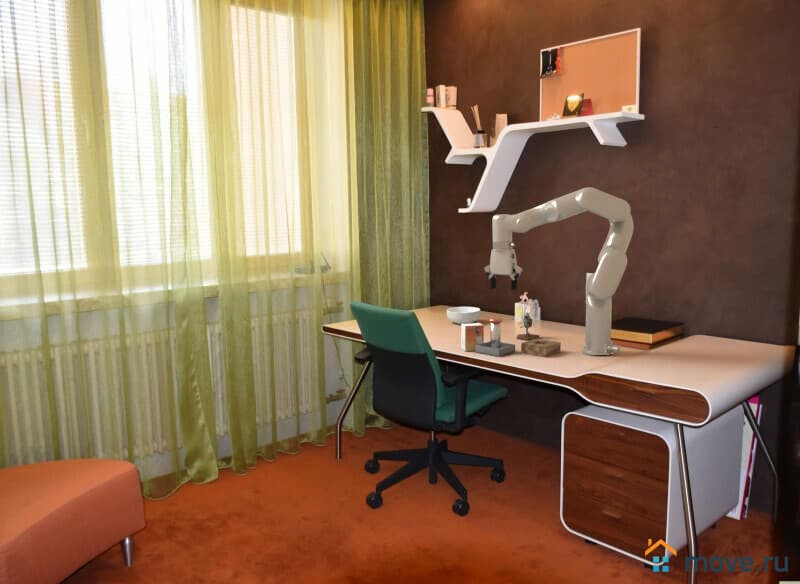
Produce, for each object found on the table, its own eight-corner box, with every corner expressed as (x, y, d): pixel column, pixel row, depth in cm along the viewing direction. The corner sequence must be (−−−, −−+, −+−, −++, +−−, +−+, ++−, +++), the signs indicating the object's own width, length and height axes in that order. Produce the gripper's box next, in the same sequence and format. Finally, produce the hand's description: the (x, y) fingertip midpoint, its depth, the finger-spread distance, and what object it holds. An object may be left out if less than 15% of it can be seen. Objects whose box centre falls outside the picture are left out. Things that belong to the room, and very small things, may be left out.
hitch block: (560, 352, 258) (560, 342, 257) (545, 357, 250) (545, 346, 249) (536, 348, 265) (536, 338, 265) (521, 352, 257) (521, 343, 257)
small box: (464, 351, 261) (464, 326, 260) (460, 348, 267) (460, 323, 265) (484, 350, 263) (484, 324, 262) (479, 347, 268) (479, 322, 267)
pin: (504, 350, 259) (504, 318, 258) (496, 352, 256) (497, 320, 254) (494, 348, 263) (494, 317, 261) (486, 350, 259) (486, 319, 258)
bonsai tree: (518, 335, 291) (518, 308, 290) (539, 336, 289) (540, 309, 287) (515, 340, 281) (516, 313, 279) (537, 341, 278) (538, 313, 277)
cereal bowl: (444, 320, 330) (444, 306, 329) (477, 319, 331) (477, 306, 330) (449, 327, 314) (449, 312, 313) (483, 326, 315) (483, 311, 314)
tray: (515, 351, 260) (515, 344, 259) (498, 356, 252) (498, 349, 251) (492, 347, 267) (492, 340, 267) (475, 352, 259) (475, 345, 259)
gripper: (526, 245, 253) (527, 289, 255) (489, 245, 265) (490, 286, 267) (516, 247, 247) (516, 291, 250) (478, 246, 259) (480, 289, 261)
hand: (503, 289), depth 258 cm, fingers open, 9 cm apart
